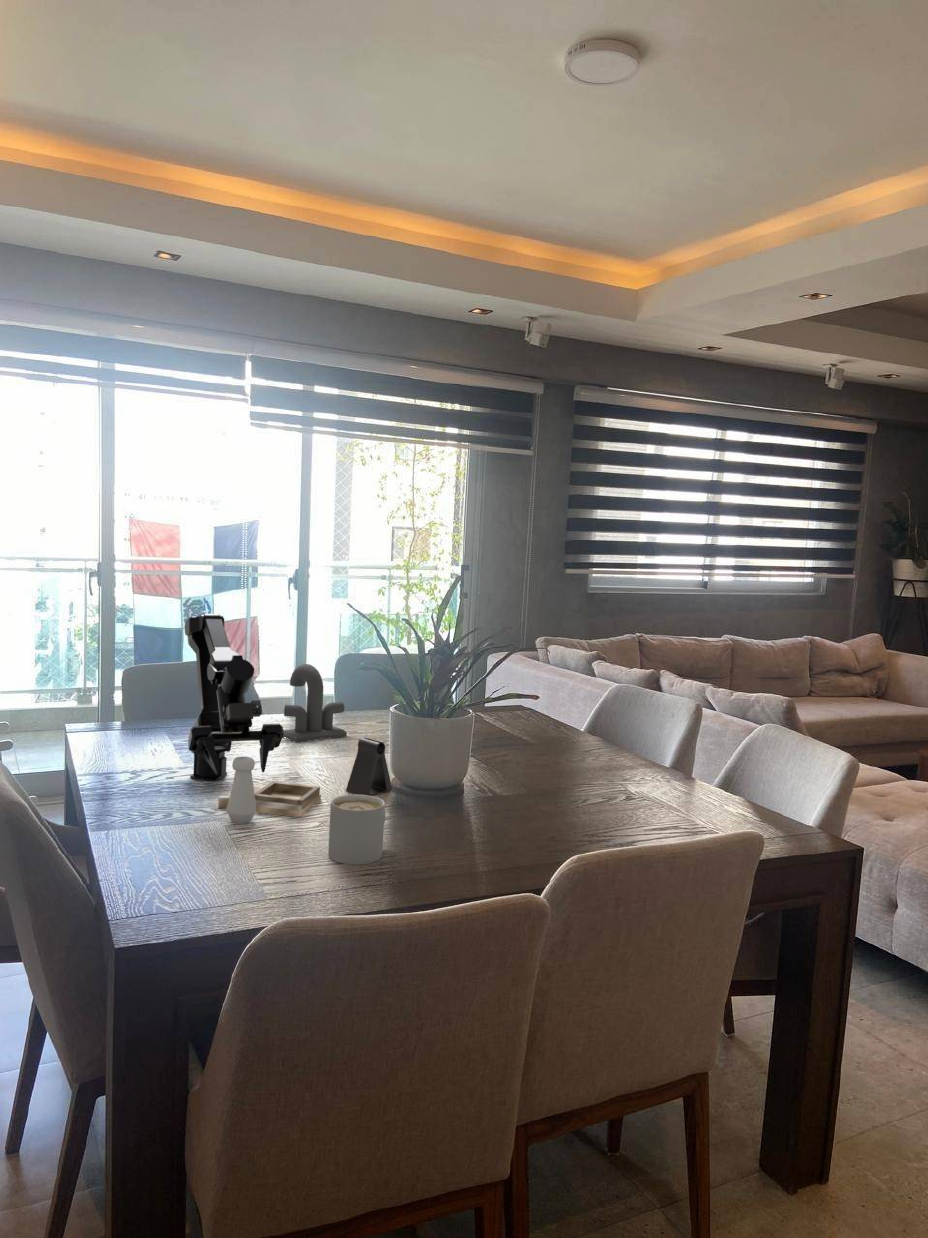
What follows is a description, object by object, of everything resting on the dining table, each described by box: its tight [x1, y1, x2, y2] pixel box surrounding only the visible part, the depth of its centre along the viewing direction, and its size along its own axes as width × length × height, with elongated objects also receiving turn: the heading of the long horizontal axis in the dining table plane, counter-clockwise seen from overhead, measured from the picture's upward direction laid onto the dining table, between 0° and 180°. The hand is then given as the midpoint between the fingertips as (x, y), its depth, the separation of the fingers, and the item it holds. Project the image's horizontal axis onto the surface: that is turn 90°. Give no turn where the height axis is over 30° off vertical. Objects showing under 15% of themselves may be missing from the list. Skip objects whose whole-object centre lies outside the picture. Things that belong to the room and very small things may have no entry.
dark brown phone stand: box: [345, 737, 393, 797], centre depth 214 cm, size 9×6×12 cm, turn 139°
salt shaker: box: [226, 755, 257, 825], centre depth 188 cm, size 6×6×13 cm
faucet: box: [282, 663, 348, 743], centre depth 267 cm, size 18×16×20 cm
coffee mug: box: [327, 794, 386, 865], centre depth 174 cm, size 13×10×10 cm
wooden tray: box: [217, 780, 322, 818], centre depth 201 cm, size 18×13×3 cm
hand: (240, 772), depth 189 cm, fingers open, 9 cm apart
